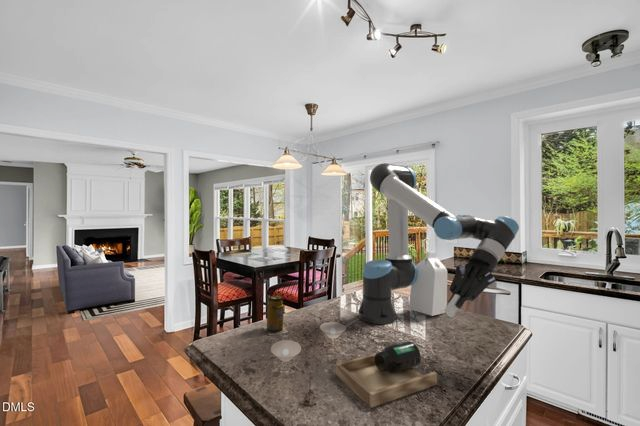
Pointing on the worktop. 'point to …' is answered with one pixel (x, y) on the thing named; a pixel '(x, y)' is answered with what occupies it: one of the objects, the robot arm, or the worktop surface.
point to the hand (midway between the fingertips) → (448, 314)
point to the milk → (429, 286)
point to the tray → (381, 380)
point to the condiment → (275, 316)
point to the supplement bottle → (398, 357)
